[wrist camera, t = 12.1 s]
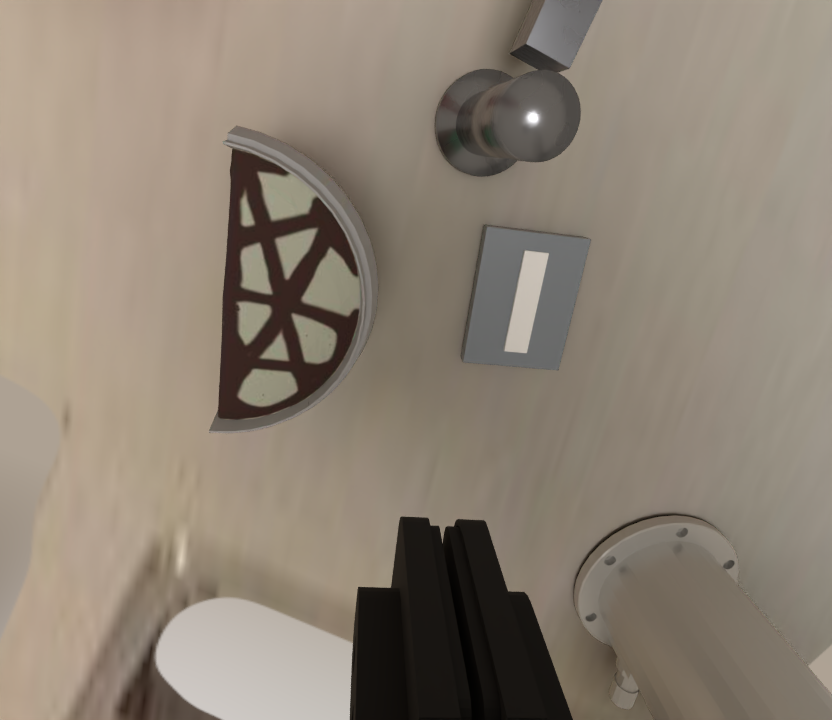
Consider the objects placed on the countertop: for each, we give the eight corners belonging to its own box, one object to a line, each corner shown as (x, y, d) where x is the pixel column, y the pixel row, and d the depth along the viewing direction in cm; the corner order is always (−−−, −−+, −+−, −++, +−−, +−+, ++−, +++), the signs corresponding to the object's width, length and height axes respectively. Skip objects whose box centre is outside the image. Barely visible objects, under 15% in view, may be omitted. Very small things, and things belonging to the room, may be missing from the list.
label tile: (553, 365, 33) (559, 371, 33) (460, 357, 33) (463, 363, 32) (585, 237, 31) (592, 240, 30) (483, 224, 30) (488, 227, 29)
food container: (356, 368, 32) (356, 458, 23) (252, 354, 31) (208, 444, 22) (389, 153, 28) (405, 159, 19) (269, 129, 27) (223, 124, 18)
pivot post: (518, 181, 29) (588, 198, 20) (428, 169, 28) (460, 181, 20) (538, 79, 27) (624, 49, 18) (442, 63, 26) (484, 24, 18)
